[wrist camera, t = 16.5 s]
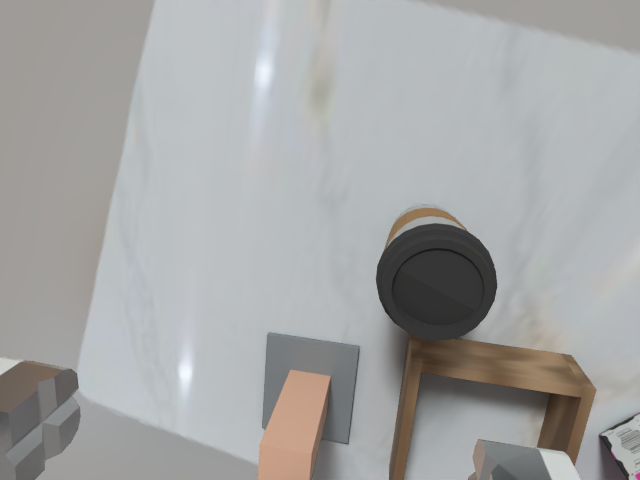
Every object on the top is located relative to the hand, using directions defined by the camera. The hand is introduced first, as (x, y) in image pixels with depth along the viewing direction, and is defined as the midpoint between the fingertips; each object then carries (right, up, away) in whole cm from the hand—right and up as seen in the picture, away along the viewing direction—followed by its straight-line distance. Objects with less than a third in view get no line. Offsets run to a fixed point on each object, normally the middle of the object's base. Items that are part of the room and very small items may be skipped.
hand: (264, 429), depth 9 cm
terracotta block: (0, -13, +42) cm, 44 cm away
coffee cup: (+11, +4, +36) cm, 38 cm away
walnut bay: (+18, -15, +40) cm, 46 cm away
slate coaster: (0, -13, +42) cm, 44 cm away
